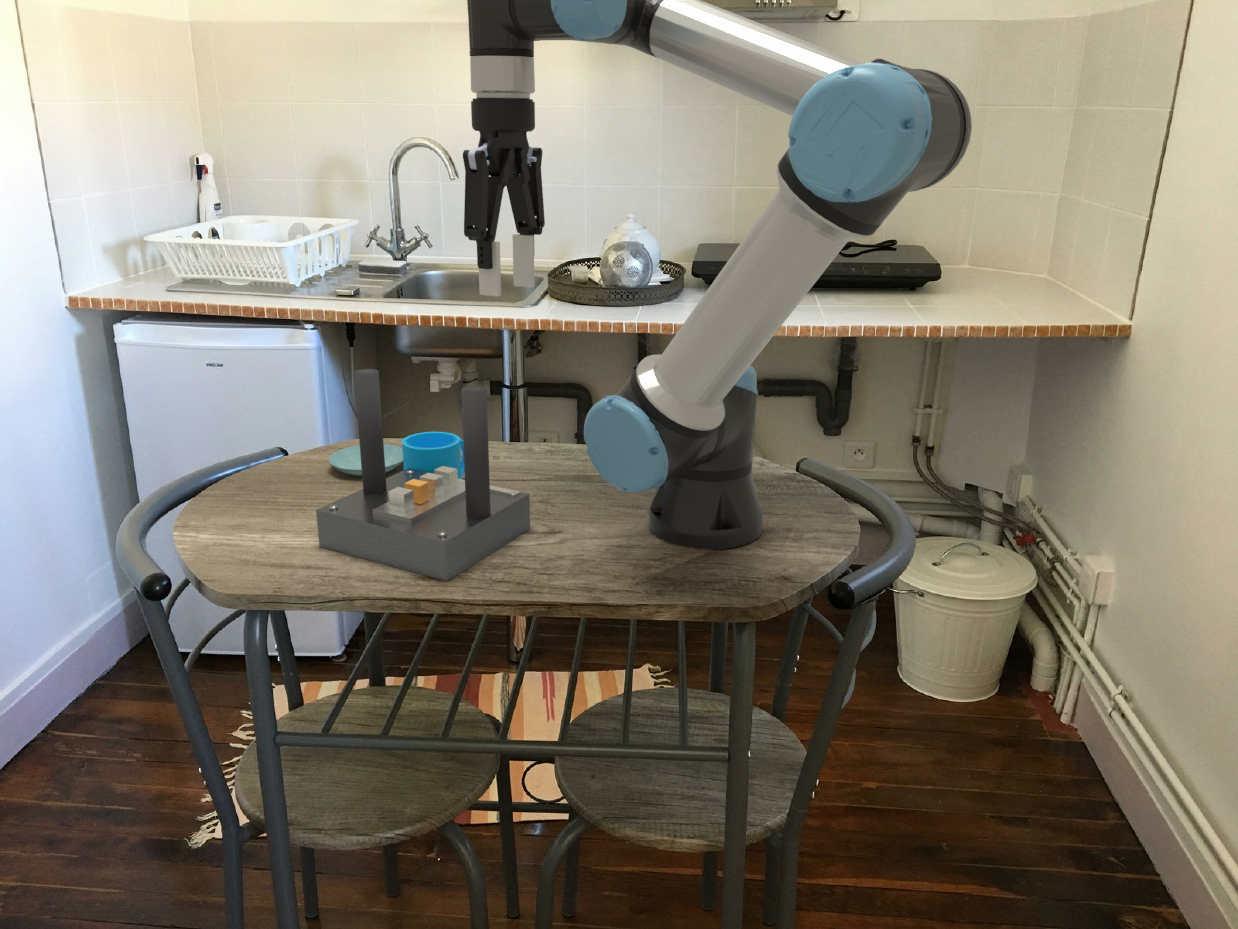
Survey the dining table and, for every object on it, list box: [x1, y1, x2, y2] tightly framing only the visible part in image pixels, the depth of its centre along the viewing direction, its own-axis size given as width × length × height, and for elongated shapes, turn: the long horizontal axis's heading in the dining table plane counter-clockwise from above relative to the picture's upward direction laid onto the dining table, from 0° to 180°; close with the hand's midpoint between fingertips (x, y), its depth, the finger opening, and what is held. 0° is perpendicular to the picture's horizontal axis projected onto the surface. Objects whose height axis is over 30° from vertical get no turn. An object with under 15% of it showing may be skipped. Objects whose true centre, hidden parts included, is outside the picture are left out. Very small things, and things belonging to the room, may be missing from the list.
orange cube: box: [404, 479, 430, 504], centre depth 127 cm, size 2×2×2 cm
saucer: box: [328, 443, 403, 477], centre depth 155 cm, size 12×12×2 cm
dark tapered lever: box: [460, 385, 491, 519], centre depth 123 cm, size 3×3×16 cm
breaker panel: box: [315, 466, 531, 582], centre depth 130 cm, size 20×18×8 cm
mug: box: [401, 431, 465, 479], centre depth 146 cm, size 12×8×8 cm
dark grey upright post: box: [353, 368, 387, 494], centre depth 130 cm, size 3×3×16 cm
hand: (507, 290), depth 127 cm, fingers open, 7 cm apart
